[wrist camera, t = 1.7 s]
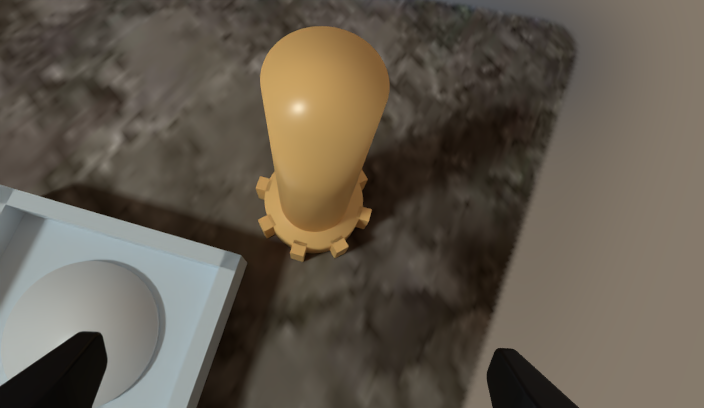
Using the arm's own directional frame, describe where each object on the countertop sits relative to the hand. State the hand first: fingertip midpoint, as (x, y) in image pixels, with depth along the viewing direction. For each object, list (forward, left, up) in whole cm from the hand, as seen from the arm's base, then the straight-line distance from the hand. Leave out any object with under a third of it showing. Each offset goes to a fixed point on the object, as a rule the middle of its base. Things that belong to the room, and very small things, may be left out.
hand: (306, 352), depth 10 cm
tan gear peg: (+7, +2, -13) cm, 15 cm away
